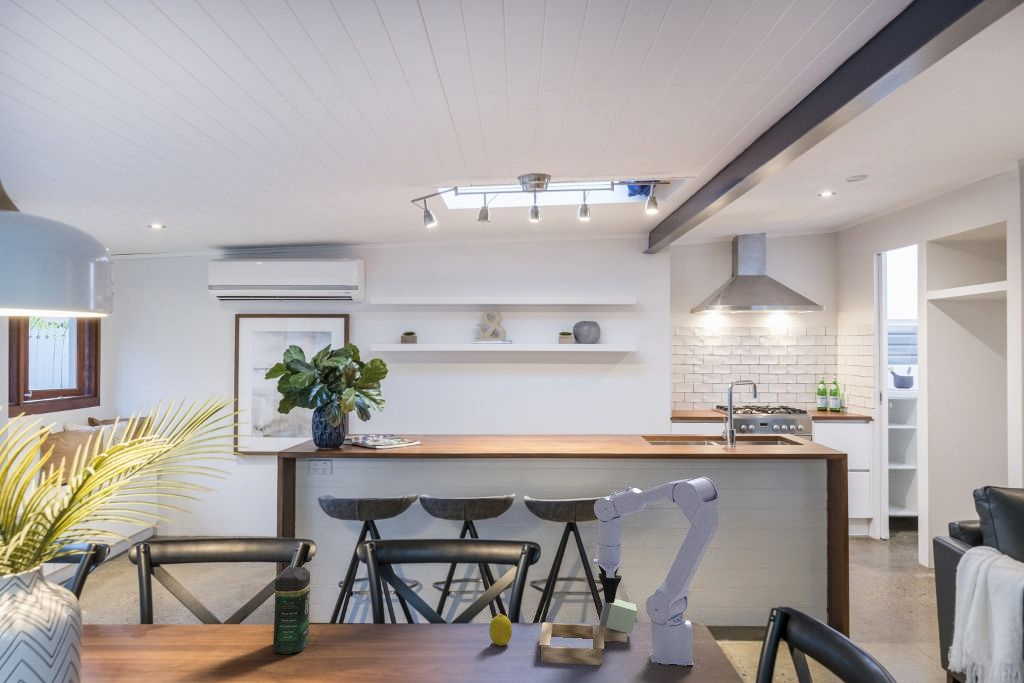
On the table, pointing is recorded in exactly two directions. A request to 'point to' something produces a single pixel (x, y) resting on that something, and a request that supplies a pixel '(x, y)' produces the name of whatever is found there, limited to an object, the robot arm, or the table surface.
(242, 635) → the table surface
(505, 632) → the lemon
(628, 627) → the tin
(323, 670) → the table surface
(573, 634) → the wooden tray
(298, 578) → the coffee jar
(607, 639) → the oak stand
